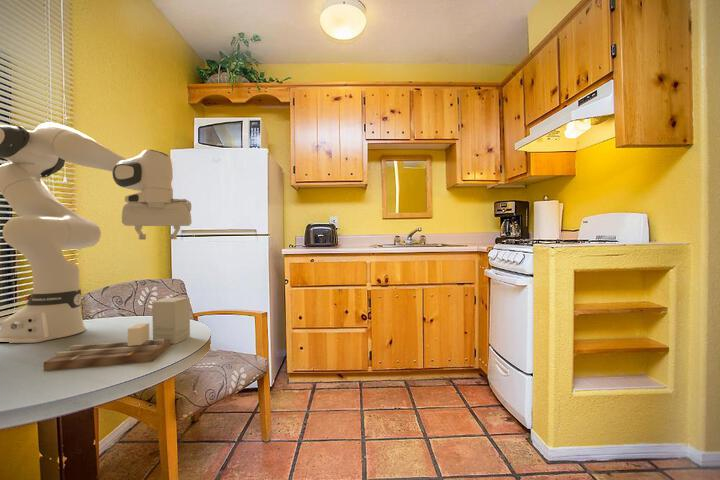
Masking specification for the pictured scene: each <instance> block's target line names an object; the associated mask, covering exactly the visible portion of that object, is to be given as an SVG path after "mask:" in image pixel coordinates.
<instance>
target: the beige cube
mask: <svg viewBox="0 0 720 480" xmlns="http://www.w3.org/2000/svg"><path fill="white" fill-rule="evenodd" d="M152 340H153V339H150V323H149V322H147V323H136V324H134V325H132V326H130V327H128V328H127V342H128V344H126V345H125V347H132V346H146V345H151V344H152Z"/></svg>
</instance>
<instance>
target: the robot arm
mask: <svg viewBox="0 0 720 480" xmlns="http://www.w3.org/2000/svg"><path fill="white" fill-rule="evenodd" d="M0 158H1V159H4V160H6V161H7V162H6V163H4V164H1V165H0V193H1V195H2V196H3V198H4V199H5V201H6V202H7V204H8V205H9V206H10V208H12V210H13V212H14V213H15V214H16V215H17V216H14V217H12V218H10V219H8V220H7V221H6V223H5V224H4V226H3V228H2V236H3V239H4V240H3V241H5V242H6V243H7V244H8V246H10V247H12V248H13V249H15V250H17V251H18V252H19V253H21V255H23V257H25V259H26V260H27V262H28V264H29V266H30V268H31V274H32V283H33V284H32V286H33V287H32V289H33V291H32V293H30V294H29V295H26V296H23V297H22V298H23V299H22V301H27V302H26V305H25V306H24V307H22V308H20V309H19V310H18V311H16V312H15V313H13V314H12V315H10V316H8V317H7V318H5V319H4V320H3V321H2V322H1V326H0V342H9V343H8V344H15V343H16V344H21V343H23V344H24V343H26V344H27V343H31V344H32V343H41V342H45V341H49V340H54V339H59V338H65V337H70V336H73V335H77V334H80V333H82V332H84V331H87V328H86V326H85V323H84V321H83V319H84V318H83V317H82V316H83V315H82V310H81V305H82V290H81V289H80V268H79V266H78V265H77V264H75V263H74V262H72V261H69V260H68V259H66V257H65V255H64V254H63V250H81V249H85V248H90V247H93V246H95V245H96V244H98V242H99V241H100V238H101V235H102V234H101V233H102V232H101V229H100V226H99V225H98V224H97V223H96V222H94V221H92V220H90V219H87V218H85V217H83V216H82V215H80V214H78V213H76V212H75V211H73V210H72V209H70V208H69V207H68V206H66V205H65V204H63V203H62V202H61V201H60V200H58V198H57V197H56V196H55V194H53V193H52V192H51V190H50V189H49V187H48V185H46V183H44V181H43V179H41V178H48V177H50V176H51V175H55V174H56V173H58V172H59V171H60V170H62V168H63V167H64V166H65V163H66V162H69V163H71V164H74V165H77V166H81V167H87V168H92V169H97V170H98V169H99V170H103V171H107V172H111V173H112V174H111V175H112V179H113V181H114V183H115V184H116V185H118V186H119V187H120V188H124V189H127V190H133V191H137V192H135V193H133V194H129V195H126V196H124V201H125V204H124V205H123V207H122V211H121V223H122V224H123V225H124V226H126V227H134V230H135V232H136V233H137V235H138V240H140V241H141V240H146V239H147V234H145V233H143V232H142V230H143V227H173V229H174V231H173V232H172V233H170V234H169V236H170V237H169V238H170V240H177V238H178V237H177V236H178V233H179V232H180V231H181V227H190V226H191V224H192V222H193V221H192V214H191V211H192V203H191V201H189V200H187V199H185V198H180V199H179V198H174V191H173V190H174V189H173V186H172V182H173V179H174V176H173V172H174V171H173V163H172V159H171V157H170V155H168V154H167V153H165V152H162V151H158V150H154V149H144V150H143V151H142V152H141V153H140V154H139V155H137V156H134V157H132V158H128V159H127V158H125V157H123V156H121V155H119V154H117V153H116V152H115V151H113V150H110V149H109V148H108V147H105V146H104V145H102V144H101V143H99V142H97V141H96V140H94V139H93V138H92V137H89V136H88V135H86V134H84V133H82V132H80V131H78V130H76V129H74V128H71V127H68V126H65V125H62V124H60V123H55V122H44V123H41V124H39V125H38V126H37V127H36V128H35V129H34V130H27V129H26V128H25V127H24V126H21V125H15V126H13V125H7V124H0Z"/></svg>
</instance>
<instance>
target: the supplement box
mask: <svg viewBox="0 0 720 480" xmlns="http://www.w3.org/2000/svg"><path fill="white" fill-rule="evenodd" d="M151 305H152V306H151V307H152V308H151V309H152V310H151V312H152V340H158V339H164V340H167V339H170V345H175V344H176V345H177V344H178V343H180V341H181V342H182V340H183V341H185V340H187V339H189V338H190V337H191V324H190V322H191V319H190V315H191V314H190V313H191V312H190V297H165V298H162V299H158V300H154V301H152V302H151ZM186 338H187V339H186ZM184 339H185V340H184Z"/></svg>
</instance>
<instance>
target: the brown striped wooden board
mask: <svg viewBox="0 0 720 480" xmlns="http://www.w3.org/2000/svg"><path fill="white" fill-rule="evenodd" d="M151 340H152V344H151V345H146V346H132V347H125V345H126V344H128V341H117V342H105V343H104V342H101V343H89V344H88V343H87V344H75V345H70V346H69V347H68V350H65V351H57V352H55V355H54V356H53V357H51V358H49V359H47V360H45V361H44V362H43V371H53V370H54V371H56V370H65V369H66V370H67V369H68V370H69V369H76V368H77V369H78V368H79V369H80V368H90V367H99V366H100V367H102V366H113V365H125V364H128V365H129V364H137V363H147V362H148V363H149V362H150V363H151V362H154V361H155V360H156V359H157V358H158V357H159V356H160V355H162V354H163V353H164V352H165V351H166V350H168V349H169V348H170V347H171V344H170V339H167V340H164V339H158V340H153V339H151Z"/></svg>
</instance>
